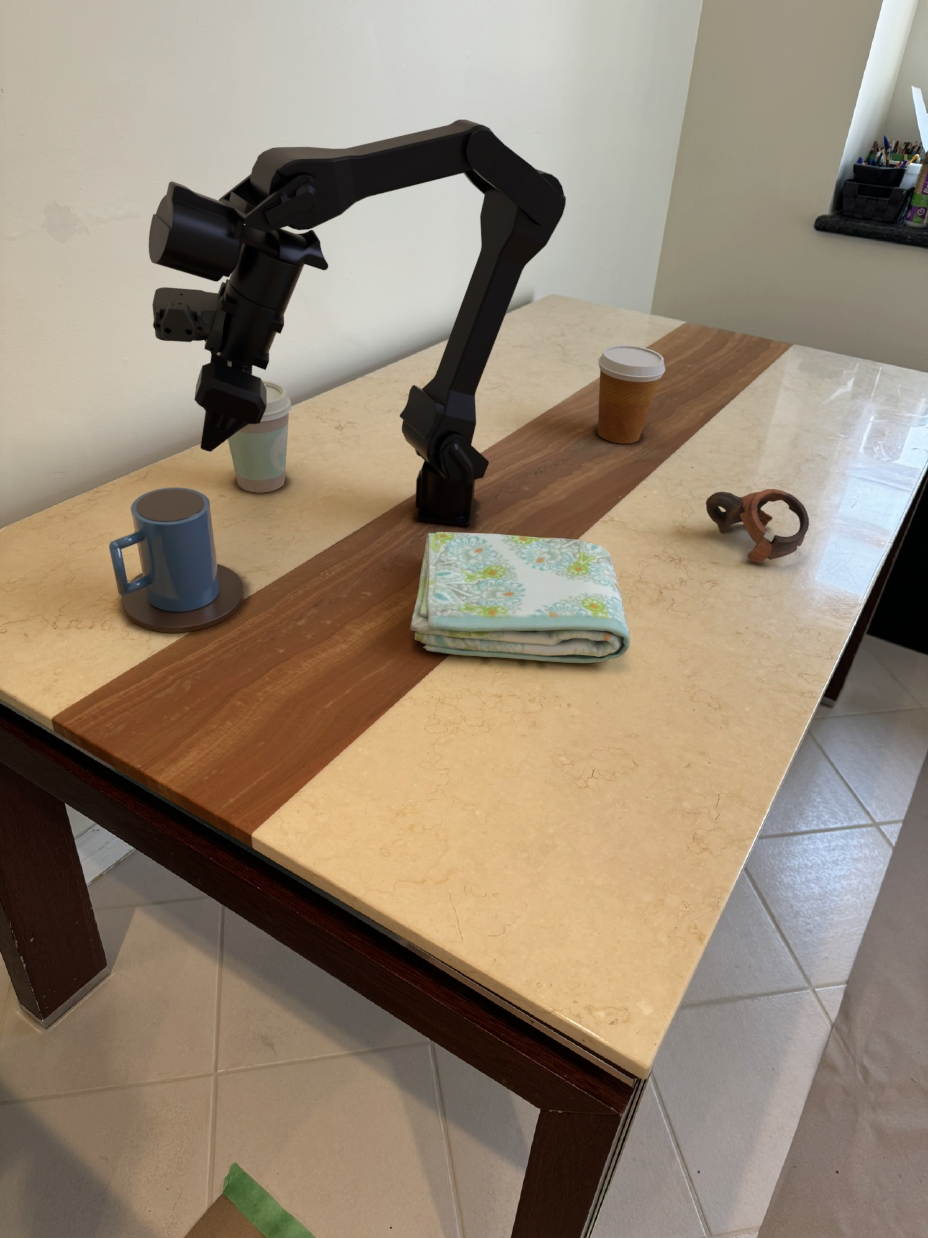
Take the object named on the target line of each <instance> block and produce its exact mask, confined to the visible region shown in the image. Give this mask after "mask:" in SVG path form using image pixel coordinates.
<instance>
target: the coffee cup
mask: <svg viewBox="0 0 928 1238" xmlns="http://www.w3.org/2000/svg"><path fill="white" fill-rule="evenodd" d="M261 380H262V379H261ZM262 382H263V383H264V385H265V387H266V389H267V408H266V410H265V412H264V415H263V417H262V419H261V422H260V423H259V424H248V425H247V426H245V427H244V428H242V429H241V430H239V431H238V432H236V433H235V434H234V435H232V436H231V437H230V438H228V439H227V443H228V446H229V450H230V455H231V460H232V466H233V469H234V473H235V478H236V482H237V485H238V486H239V488H241V489H242V490H244V491H245V492H246V491H247V492H250V493H259V494H261V493H271V492H274V491H276V490H279V489H280V488H281V487H283V486H284V485H285V478H286V467H287V465H286V464H287V449H288V436H289V435H288V433H289V420H290V419H289V418H290V412H291V411H292V408H293V406H292V402H291V398H290V397H289V396H288V392H287V390H286V388H285V387H284V386H282V385H281V384H279V383H278V382H277V383H276V382H274V381H271V380H270V381H269V380H264V379H263V380H262Z"/></svg>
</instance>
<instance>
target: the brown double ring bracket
mask: <svg viewBox="0 0 928 1238" xmlns="http://www.w3.org/2000/svg"><path fill="white" fill-rule="evenodd" d="M778 501H783V502H784V503H785V504H787V506H788V510H789V511H791V512H792V513H794V514H795V515H796V516H797V517H798V521H799V528H798V530H797V532H796V533H795V534H792V535H790V536H782V535H777V534H775V535H774V536H773V537H772V540H770V539H768V538H766V537H765V534H766V533H767V532H768V531H767V528H766V526H767V525H768V524H769V522H771V521H772V520H773V516H772V515H770V514H769V513H766V512H765V511H764V510H763V509H762V508H763V507H764V506H765V505H767V504H768V503H769V502H770V503H774V502H778ZM721 508H722V509H723V510H725V511H722V510H721ZM705 509H706V513H707V515H708V517H709V518H710V519H711V521H713V523H715V524H716V526H717V527H718V531H719V533H720V534H722V535H724V534H725V533H726V531H727V530H728V529H729V528H730V527H731V526H733V525H734V524H739V523H742V524H743V527H744V528H745V529H746V531H747V534H748V535H749V537H750V538H751V540H752V541H753V542H754V543H755V544H756V545H755V546H754V548H753V549H752V550H751V551H750V552H748V553H747V559H748V560H750V561H751V562H753V563H755V564H757V565H758V564H760V563H763V562H765V561H766V560H767V559H768V560H776V559H779V558H782V557H786V556H788V555H791V554H792V553H795V552H796V551H797V550H798V547H800V546H802V544H803V542H804V540H805V537H806V534H807V533H808V530H809V526H810V518H809V514H808V511H807V509H806V507H805V506H804V504H803V503H802V502H801V500H799V498H797V497H796V496H794V495H793V494H791V493H789V492H786V491H784V490H781V489H776V488H767V489H764V490H763V489H762V490H760V491H755V492H752V493H751V492H750V493H748V494H746V495H744V496H738V495H736V494H734V493H732V492H729V491H728V492H727V491H716V492H714V493H713V494H711V495H709V497H707V498H706V501H705Z"/></svg>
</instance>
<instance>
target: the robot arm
mask: <svg viewBox="0 0 928 1238" xmlns="http://www.w3.org/2000/svg"><path fill="white" fill-rule="evenodd" d="M461 174H463V175H464V176H465V178H466V179H467V181H469V183H470V184H471V185H472V186H474V187H475V188H476V189H477V190H478V191H479V192H480V193H481V194H482V195H484V196H483V201H482V205H481V211H480V214H479V222H480V223H479V224H480V239H481V240H480V243H481V246H480V251H479V255H478V257H477V260H476V262H475V265H474V268H473V271H472V274H471V276H470V279H469V282H468V285H467V288H466V290H465V293H464V296H463V298H462V301H461V303H460V307H459V310H458V312H457V315H456V318H455V321H454V323H453V326H452V329H451V332H450V334H449V337H448V340H447V343H446V345H445V349H444V351H443V354H442V356H441V358H440V362H439V365H438V368H437V370H436V373H435V375H434V377H432V379H431V380H430V381H428V382H427V384H425V385H424V387H422V388H421V387H420V386H417V385H415V384H412V386H411V387H410V389H409V393H408V396H407V401H406V404H405V407H404V408H403V410H402V411H401V412H400V414H399V418H401V420H402V424H401V433H402V435H403V437H404V439H405V442H407V443H408V444H409V445H410V446H411V447H412V448H413V449H414V451H415V454H416V455H417V456H418V457H420V458H421V459H422V460H423V464H422V466H421V469H420V470H419V471H418V474H417V476H416V480H415V483H416V484H415V503H414V504H415V505H414V507H415V509H417V510H418V511H417V514H416V520H417V521H419V522H427V523H436V524H444V525H452V526H461V527H470V526H471V522H472V518H473V514H474V509H475V505H476V498H474V497H475V486H476V480H480V479H483V478H484V477H485V474H486V472H487V469H488V467H489V464H490V461H489V460H488V459H487V458H486V457H485V456H484V455H483V454H482V453H481V452H480V451H478V450H477V448H475V447H474V446H473V445H472V444H473V439H474V435H475V431H476V426H477V408H476V407H477V406H476V393H477V389H478V387H479V384H480V382H481V379H482V377H483V374H484V372H485V369H486V366H487V363H488V361H489V359H490V356H491V353H492V351H493V348H494V345H495V344H496V340H497V338H498V335H499V333H500V330H501V327H502V325H503V322H504V319H505V317H506V315H507V312H508V309H509V307H510V304H511V301H512V299H513V296H514V294H515V291H516V289H517V287H518V283H519V281H520V279H521V275H522V274H523V270H524V269H525V267H526V266H527V265H528V264H529V263H530V262H531V261H532V260H533V259H534V258H535V257H536V256H537V255H538V254H539V253H540V252H541V251H542V250H543V249H544V248H545V247H546V246H547V245H548V243H549V241H550V239H551V237H552V236H553V234H554V233H555V231H556V229H557V227H558V225H559V223H560V221H561V220H562V217H563V215H564V212H565V208H566V203H567V197H566V195H565V192H564V188H563V185H562V184H561V182H560V180H559V178H557V176H554V175H553V174H552V173H548V172H546V171H543V170H540V169H537V168H535V167H534V166H533V165H532V164H530V163H529V162H528V161H526V160H525V159H524V158H523V157H521V155H519V154H518V153H516V151H513V149H511V148H510V147H508V146H507V145H506V144H505V143H504V142H503V141H502V140H501V139H500V138H499V137H498V136H497V135H495V133H494V132H493V131H492V129H491V128H490V127H488V126H486V125H485V124H481V123H478V122H475V121H472V120H468V119H457V120H454V121H453V122H452V123H449V124H447V125H443V126H437V127H434V128H429V129H424V130H421V131H416V132H412V133H408V134H403V135H398V136H394V137H390V138H384V139H381V140H377V141H373V142H367V143H364V144H359V145H355V146H351V147H346V148H328V147H327V148H326V147H314V146H282V147H281V146H279V147H278V146H276V147H271V148H268V149H266V150H264V151H262V152H260V154H259V155H257V158H256V161H255V163H254V164H253V166H252V168H251V172H250V174H249V175H248V176H246V177H245V178H244V179H242V180H241V181H240V182H239V183H237V184H236V185H235V186H234V187H232V188H231V189H230V190H229V191H227V192H226V193H224V194H223V195H222V196H221V197H220V198H219V199H216V198H213V197H210V196H208V195H204V194H202V193H199V192H196V191H194V190H192V189H191V188H189V187H188V186H185V185H184V184H181V183H178V182H176V181H173V180H171V181H169V183H168V185H167V190H166V194H165V195H164V196H163V197H162V198H161V200H160V202H159V204H158V206H157V208H156V212H155V213H153V214H152V218H151V221H150V227H149V233H148V255H149V259H150V262H151V263H152V264H155V265H158V266H161V267H165V268H168V269H172V270H174V271H178V272H182V273H185V274H189V275H191V276H195V277H198V278H202V279H205V280H208V281H212V282H216V283H217V282H219V281H221V279H223V278H225V277H226V280H225V282H224V281H221V283H220V286H219V289H218V292H211V291H205V290H201V289H193V288H183V287H181V288H180V287H179V288H178V287H167V286H166V287H164V286H163V287H159V288H156V289H155V291H154V295H153V300H152V314H153V315H152V316H153V323H152V327H153V329H154V336H155V338H156V339H157V340H159V341H164V342H180V343H192V342H193V341H194V342H201V341H204V350H205V351H208V352H210V361H209V362H208V363H205V364H202V365H201V368H200V371H199V374H198V377H197V380H196V385H195V390H194V391H195V392H194V401H195V402H196V404H197V405H198V406H199V407H201V408H203V410H204V411H205V413H204V419H203V426H202V433H201V438H200V439H201V440H200V449H201V450H203V451H205V452H213V451H215V449H217V448H218V447H219V446H221V445H222V444H223V443H224V442H226V441H228V438H230V437H231V436H232V435H234V434H235V433H236V432H238V431H239V430H241V429H242V428H244V427H245V426H247V425H248V424H259V423H260V422H261V419H262V417H263V415H264V412H265V410H266V408H267V389H266V387H265V385H264V383H263V382H262V377H259V376H256V375H254V374H253V366H254V367H257V368H259V369H261V370H264V371H266V370H267V368H268V365H269V363H270V350H271V347H272V346H273V343H274V340H275V338H276V336H277V334H278V335H279V334H280V335H281V334H282V332H283V330H284V327H285V313H286V311H287V308H288V306H289V303H290V301H291V299H292V296H293V294H294V291H295V289H296V286H297V285H298V282H299V279H300V277H301V274H302V271H303V269H304V267H305V266H309V267H311V268H315V269H317V270H321V271H327V270H328V269H329V264H328V261H327V260H326V258H325V256H324V253H323V250H322V245H321V240H320V238H319V236H318V235H317V234H316V232H315V230H314V228H316V227H318V226H320V225H323V224H325V223H326V222H328V221H331V220H332V219H335V218H338V217H339V216H341V215H343V214H344V213H345V212H346V211H347V210H349V209H350V208H351V207H352V206H354V205H355V204H356V203H358V202H360V201H362V200H364V199H366V198H369V197H373V196H378V195H382V194H385V193H389V192H393V191H397V190H402V189H405V188H409V187H414V186H417V185H418V186H419V185H422V184H426V183H429V182H433V181H437V180H441V179H447V178H449V177H453V176H457V175H461ZM286 227H288V228H290V229H293V230H296V231H305V232H301V233H295V232H293V231H290V230H286V229H284V228H286Z"/></svg>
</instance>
